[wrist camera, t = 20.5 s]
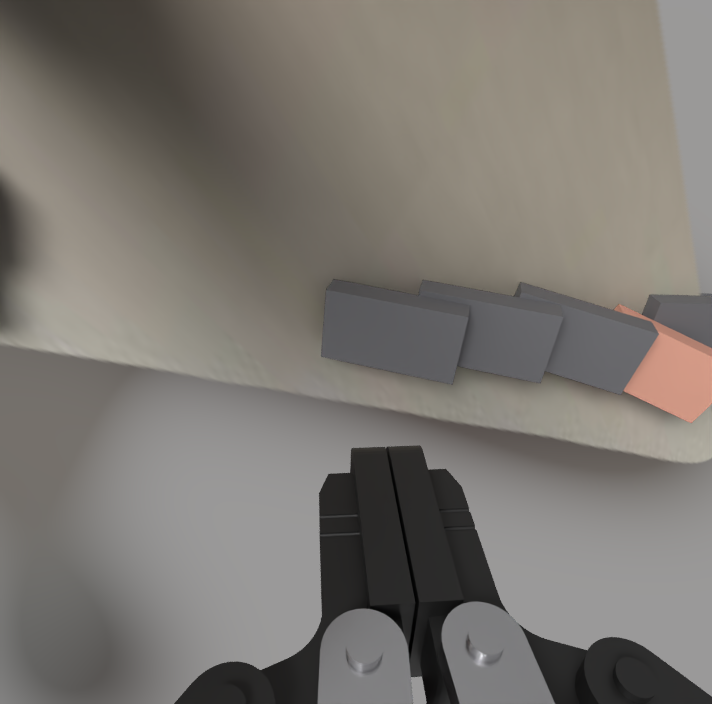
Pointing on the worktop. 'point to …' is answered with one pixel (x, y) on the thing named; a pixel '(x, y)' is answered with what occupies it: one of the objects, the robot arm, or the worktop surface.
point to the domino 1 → (393, 330)
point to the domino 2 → (503, 331)
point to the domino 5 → (673, 373)
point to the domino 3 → (594, 341)
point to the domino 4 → (683, 314)
